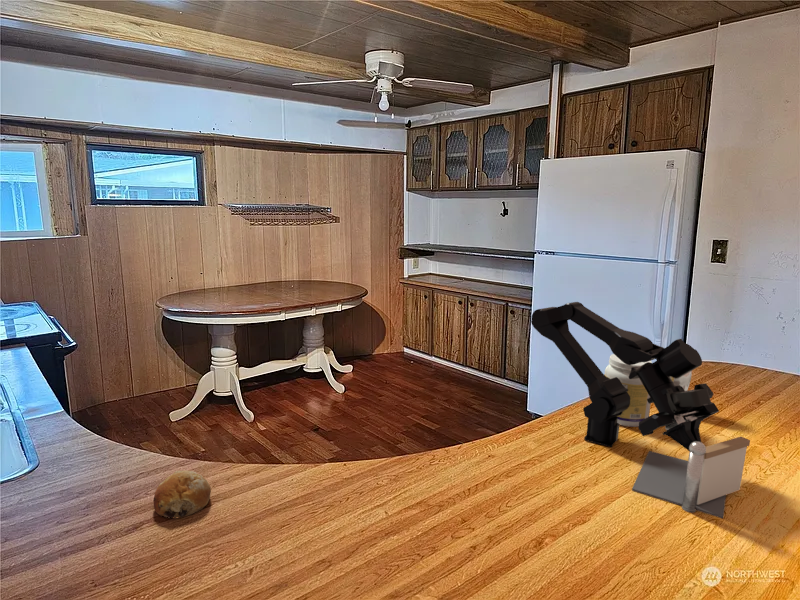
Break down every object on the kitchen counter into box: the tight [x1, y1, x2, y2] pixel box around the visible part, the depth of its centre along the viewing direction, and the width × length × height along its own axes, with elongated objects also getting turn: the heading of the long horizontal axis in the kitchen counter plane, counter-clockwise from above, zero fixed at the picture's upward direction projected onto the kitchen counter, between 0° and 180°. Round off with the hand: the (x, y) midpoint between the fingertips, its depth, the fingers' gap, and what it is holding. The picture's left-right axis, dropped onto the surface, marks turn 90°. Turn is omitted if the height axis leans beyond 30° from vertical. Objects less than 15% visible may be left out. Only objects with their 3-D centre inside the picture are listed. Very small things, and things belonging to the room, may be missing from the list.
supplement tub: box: [603, 353, 653, 428], centre depth 140 cm, size 12×12×17 cm
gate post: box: [681, 441, 706, 514], centre depth 99 cm, size 3×3×14 cm
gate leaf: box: [697, 436, 751, 505], centre depth 103 cm, size 13×2×11 cm, turn 116°
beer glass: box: [670, 370, 693, 391], centre depth 147 cm, size 7×7×15 cm
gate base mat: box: [631, 450, 727, 519], centre depth 110 cm, size 16×20×1 cm
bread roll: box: [153, 469, 212, 519], centre depth 99 cm, size 10×10×8 cm
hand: (701, 456), depth 107 cm, fingers closed
